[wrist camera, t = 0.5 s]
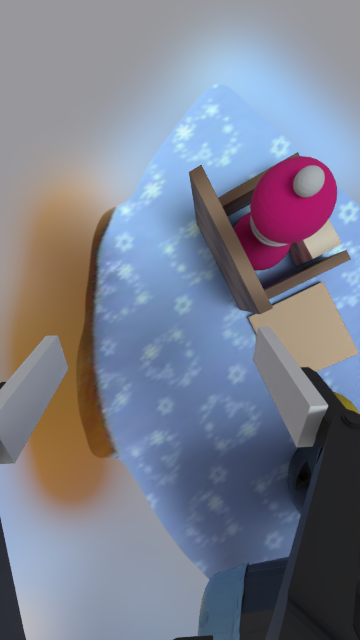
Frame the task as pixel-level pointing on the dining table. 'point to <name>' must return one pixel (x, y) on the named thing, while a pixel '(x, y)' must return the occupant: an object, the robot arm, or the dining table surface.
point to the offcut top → (318, 243)
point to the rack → (230, 250)
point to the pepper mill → (286, 209)
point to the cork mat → (309, 328)
